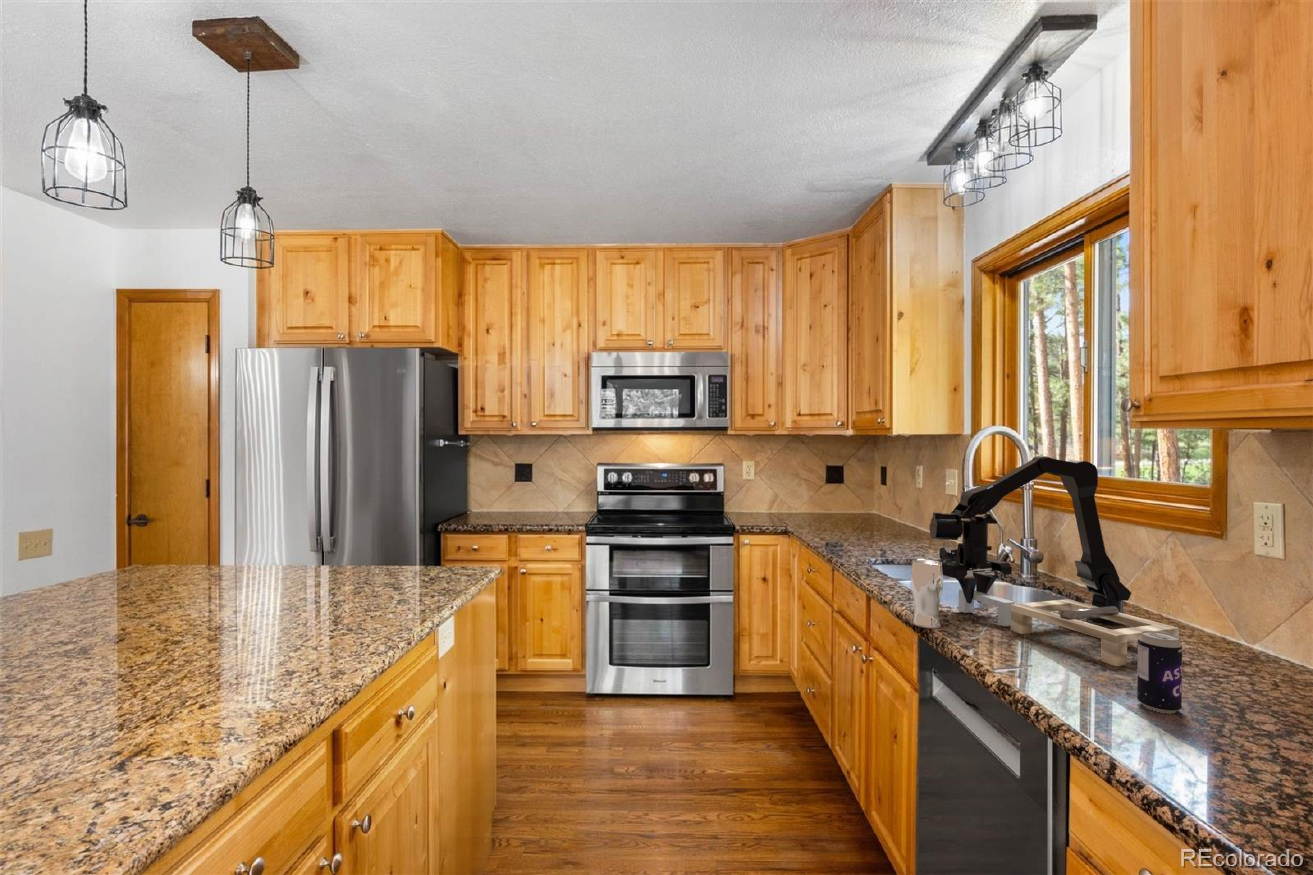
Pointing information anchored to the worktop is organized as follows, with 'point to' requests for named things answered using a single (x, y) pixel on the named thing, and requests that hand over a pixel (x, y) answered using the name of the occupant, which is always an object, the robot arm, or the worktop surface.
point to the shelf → (1087, 626)
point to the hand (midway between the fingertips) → (974, 602)
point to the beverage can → (1159, 672)
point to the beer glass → (927, 592)
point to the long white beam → (1002, 604)
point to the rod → (1089, 612)
